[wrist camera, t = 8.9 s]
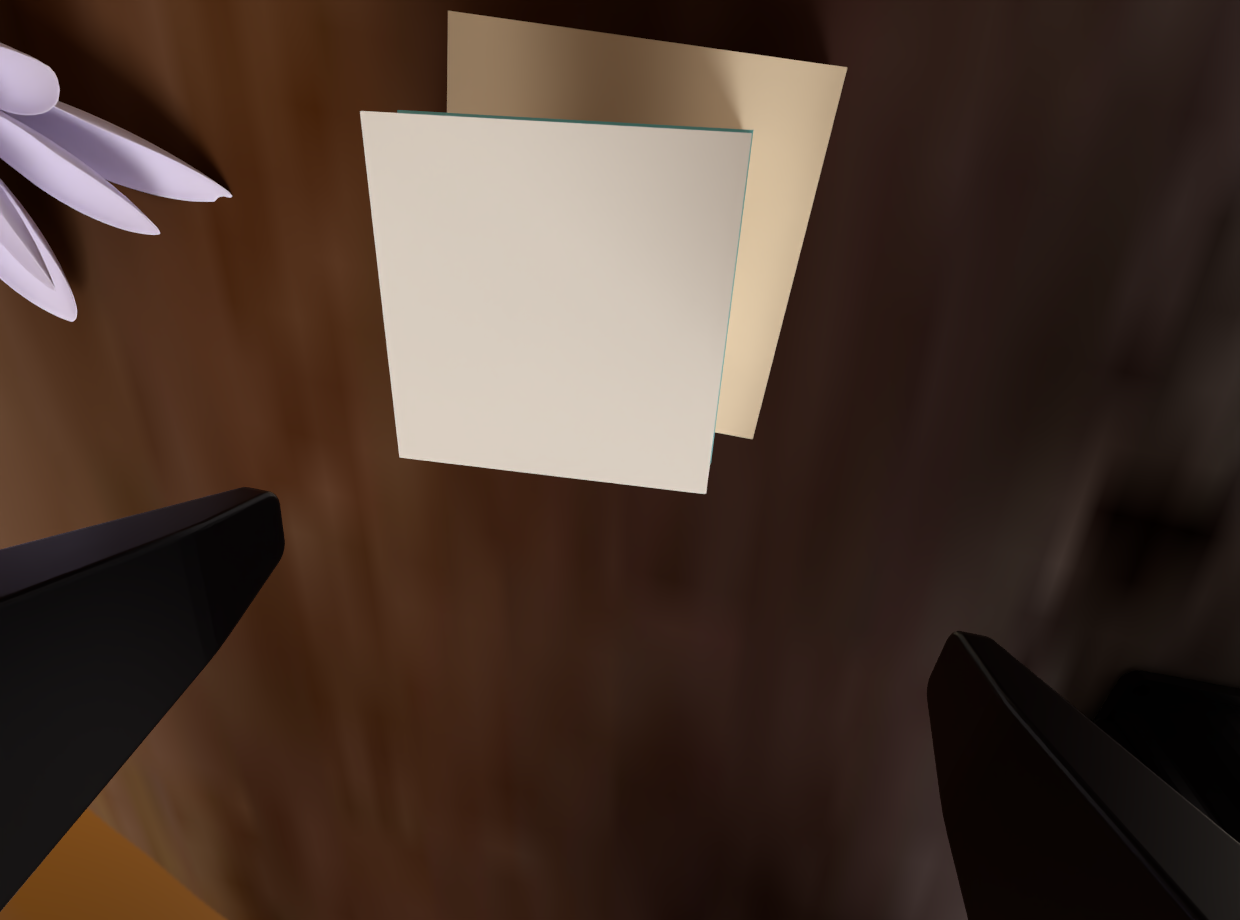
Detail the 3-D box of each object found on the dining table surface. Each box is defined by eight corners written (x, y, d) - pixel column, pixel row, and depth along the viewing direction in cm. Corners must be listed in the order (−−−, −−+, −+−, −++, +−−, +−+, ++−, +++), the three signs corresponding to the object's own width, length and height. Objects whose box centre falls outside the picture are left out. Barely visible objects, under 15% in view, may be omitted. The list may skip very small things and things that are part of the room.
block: (829, 78, 17) (847, 67, 14) (750, 400, 21) (752, 439, 18) (491, 29, 17) (447, 10, 15) (480, 350, 22) (444, 381, 19)
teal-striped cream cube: (746, 131, 15) (755, 128, 9) (717, 369, 18) (708, 496, 11) (505, 118, 16) (356, 107, 9) (511, 348, 18) (397, 459, 12)
